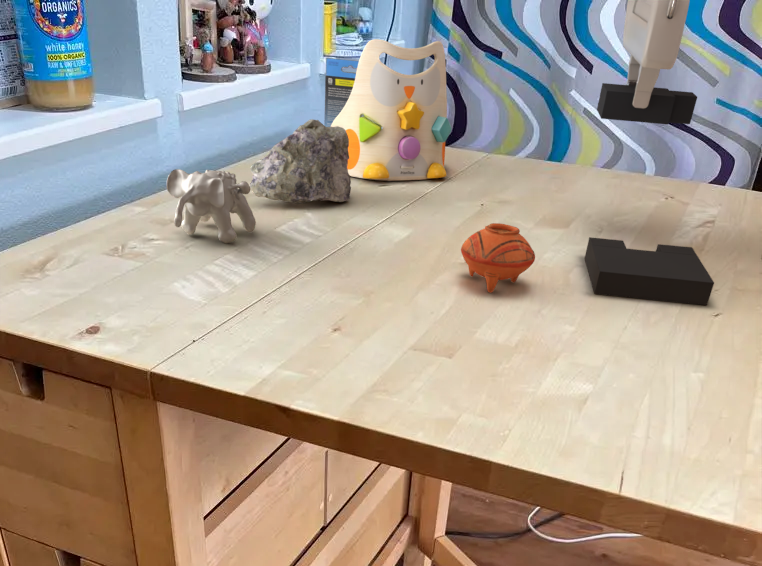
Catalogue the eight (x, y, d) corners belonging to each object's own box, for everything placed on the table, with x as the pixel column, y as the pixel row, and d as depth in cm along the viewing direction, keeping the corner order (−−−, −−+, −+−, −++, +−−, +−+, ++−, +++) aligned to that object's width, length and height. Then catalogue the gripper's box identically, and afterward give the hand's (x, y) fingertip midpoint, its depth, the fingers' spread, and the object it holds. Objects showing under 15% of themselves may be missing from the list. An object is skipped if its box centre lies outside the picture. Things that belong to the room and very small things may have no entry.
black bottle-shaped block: (596, 109, 102) (602, 83, 100) (683, 117, 101) (690, 90, 100) (600, 118, 98) (607, 90, 96) (692, 126, 97) (699, 98, 95)
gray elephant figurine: (259, 227, 99) (258, 160, 95) (242, 260, 90) (239, 187, 85) (185, 221, 99) (180, 154, 95) (159, 253, 90) (153, 180, 85)
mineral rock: (248, 207, 106) (245, 122, 100) (262, 186, 114) (261, 107, 108) (345, 215, 105) (349, 131, 99) (352, 193, 114) (356, 114, 108)
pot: (440, 281, 87) (454, 215, 84) (475, 281, 93) (490, 219, 90) (504, 299, 83) (521, 230, 80) (537, 298, 89) (554, 234, 86)
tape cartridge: (377, 140, 142) (382, 59, 134) (371, 144, 139) (376, 62, 131) (329, 134, 144) (332, 54, 136) (322, 138, 141) (325, 57, 133)
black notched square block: (685, 268, 96) (692, 247, 95) (706, 305, 87) (714, 282, 85) (584, 258, 97) (589, 237, 95) (594, 294, 88) (599, 271, 86)
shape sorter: (347, 185, 117) (354, 43, 106) (323, 167, 125) (327, 33, 114) (468, 180, 123) (485, 45, 113) (438, 163, 131) (452, 35, 120)
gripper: (715, -31, 82) (675, 120, 90) (681, -38, 98) (650, 90, 106) (652, -36, 82) (617, 115, 91) (629, -42, 98) (601, 86, 107)
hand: (635, 101), depth 99 cm, fingers closed on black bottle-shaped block, 6 cm apart
